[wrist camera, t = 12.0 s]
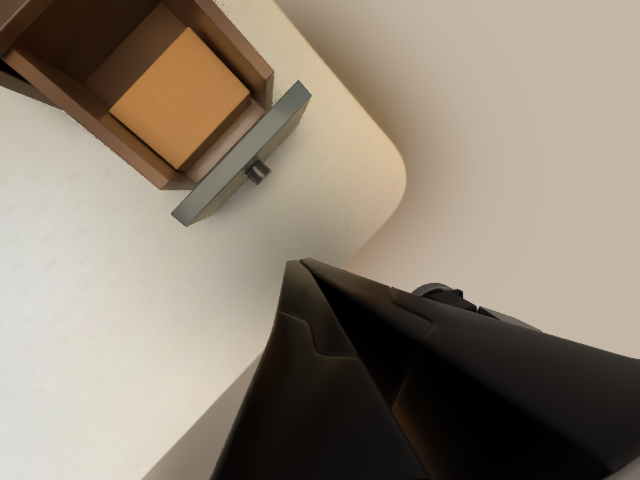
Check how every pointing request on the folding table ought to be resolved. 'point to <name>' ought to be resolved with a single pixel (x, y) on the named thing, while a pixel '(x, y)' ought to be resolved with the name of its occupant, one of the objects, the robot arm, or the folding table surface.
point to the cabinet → (4, 29)
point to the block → (183, 102)
